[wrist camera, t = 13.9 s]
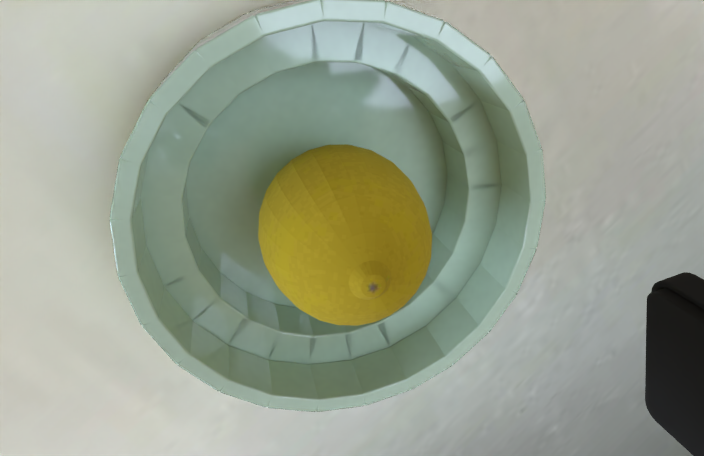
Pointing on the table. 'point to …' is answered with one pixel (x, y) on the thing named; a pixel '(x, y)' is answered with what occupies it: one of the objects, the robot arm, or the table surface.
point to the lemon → (345, 235)
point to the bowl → (291, 141)
